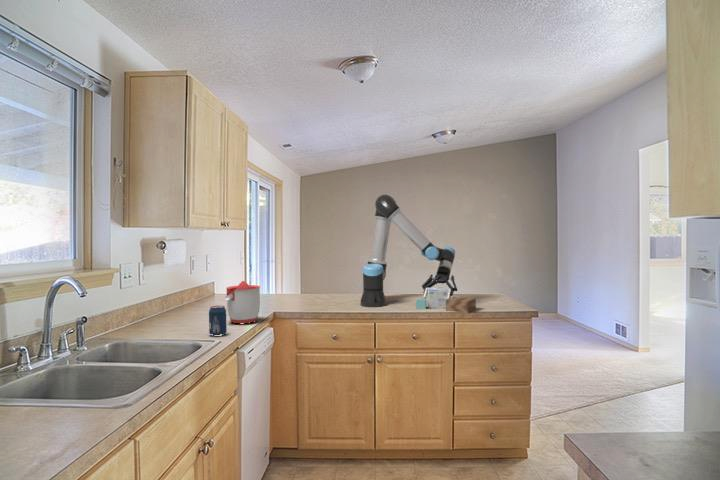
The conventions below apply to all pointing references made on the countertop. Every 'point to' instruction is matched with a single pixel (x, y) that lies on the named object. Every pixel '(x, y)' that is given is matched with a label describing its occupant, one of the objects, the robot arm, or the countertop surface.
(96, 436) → the countertop surface
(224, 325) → the soda can
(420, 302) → the teal block
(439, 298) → the light bulb box
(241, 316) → the citrus juicer
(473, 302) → the walnut block
